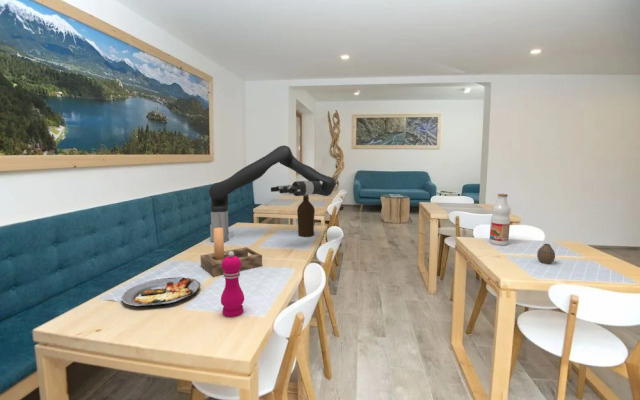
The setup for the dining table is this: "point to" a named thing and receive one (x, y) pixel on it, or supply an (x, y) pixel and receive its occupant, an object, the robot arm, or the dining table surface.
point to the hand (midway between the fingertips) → (275, 190)
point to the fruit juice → (500, 221)
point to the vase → (546, 254)
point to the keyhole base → (216, 265)
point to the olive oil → (305, 218)
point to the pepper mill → (232, 287)
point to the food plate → (161, 291)
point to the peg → (218, 243)
